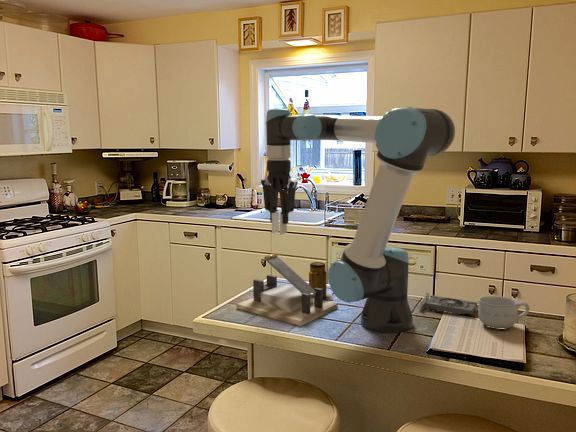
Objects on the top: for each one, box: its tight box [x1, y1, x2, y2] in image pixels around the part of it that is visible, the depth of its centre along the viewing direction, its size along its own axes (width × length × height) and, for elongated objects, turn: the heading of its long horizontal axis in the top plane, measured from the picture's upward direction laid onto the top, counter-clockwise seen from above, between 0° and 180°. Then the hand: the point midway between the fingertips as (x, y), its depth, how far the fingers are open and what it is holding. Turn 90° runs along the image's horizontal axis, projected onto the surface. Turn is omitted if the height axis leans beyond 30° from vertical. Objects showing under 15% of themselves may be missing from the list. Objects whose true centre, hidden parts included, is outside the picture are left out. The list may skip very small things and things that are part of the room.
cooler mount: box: [236, 274, 339, 327], centre depth 165 cm, size 26×20×8 cm
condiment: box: [308, 261, 333, 301], centre depth 176 cm, size 7×8×12 cm
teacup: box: [477, 295, 530, 329], centre depth 148 cm, size 14×11×8 cm
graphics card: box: [418, 292, 478, 315], centre depth 163 cm, size 17×4×12 cm
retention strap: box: [263, 253, 319, 299], centre depth 163 cm, size 21×5×2 cm, turn 52°
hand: (279, 232), depth 164 cm, fingers open, 3 cm apart
